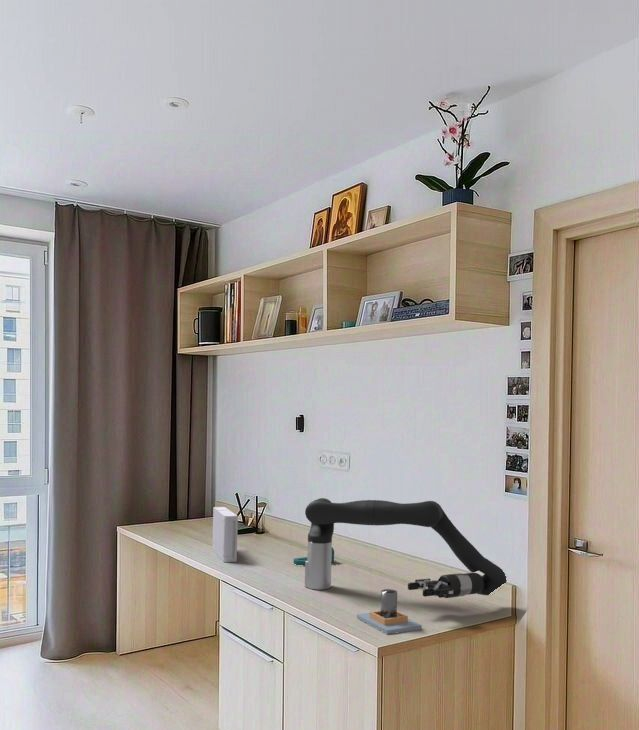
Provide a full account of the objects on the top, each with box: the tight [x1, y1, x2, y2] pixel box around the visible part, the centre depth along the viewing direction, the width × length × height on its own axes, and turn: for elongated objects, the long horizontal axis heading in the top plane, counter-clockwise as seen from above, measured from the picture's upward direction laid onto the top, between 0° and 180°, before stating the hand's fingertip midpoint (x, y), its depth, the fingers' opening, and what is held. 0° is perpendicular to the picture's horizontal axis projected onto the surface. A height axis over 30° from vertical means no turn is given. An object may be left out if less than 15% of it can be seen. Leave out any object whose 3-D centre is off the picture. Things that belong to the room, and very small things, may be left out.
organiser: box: [356, 610, 423, 635], centre depth 235 cm, size 18×13×3 cm
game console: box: [211, 506, 239, 563], centre depth 330 cm, size 6×27×20 cm, turn 19°
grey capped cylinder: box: [380, 588, 398, 618], centre depth 235 cm, size 5×5×9 cm
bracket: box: [293, 547, 335, 566], centre depth 319 cm, size 18×7×8 cm, turn 121°
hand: (415, 589), depth 241 cm, fingers open, 8 cm apart
